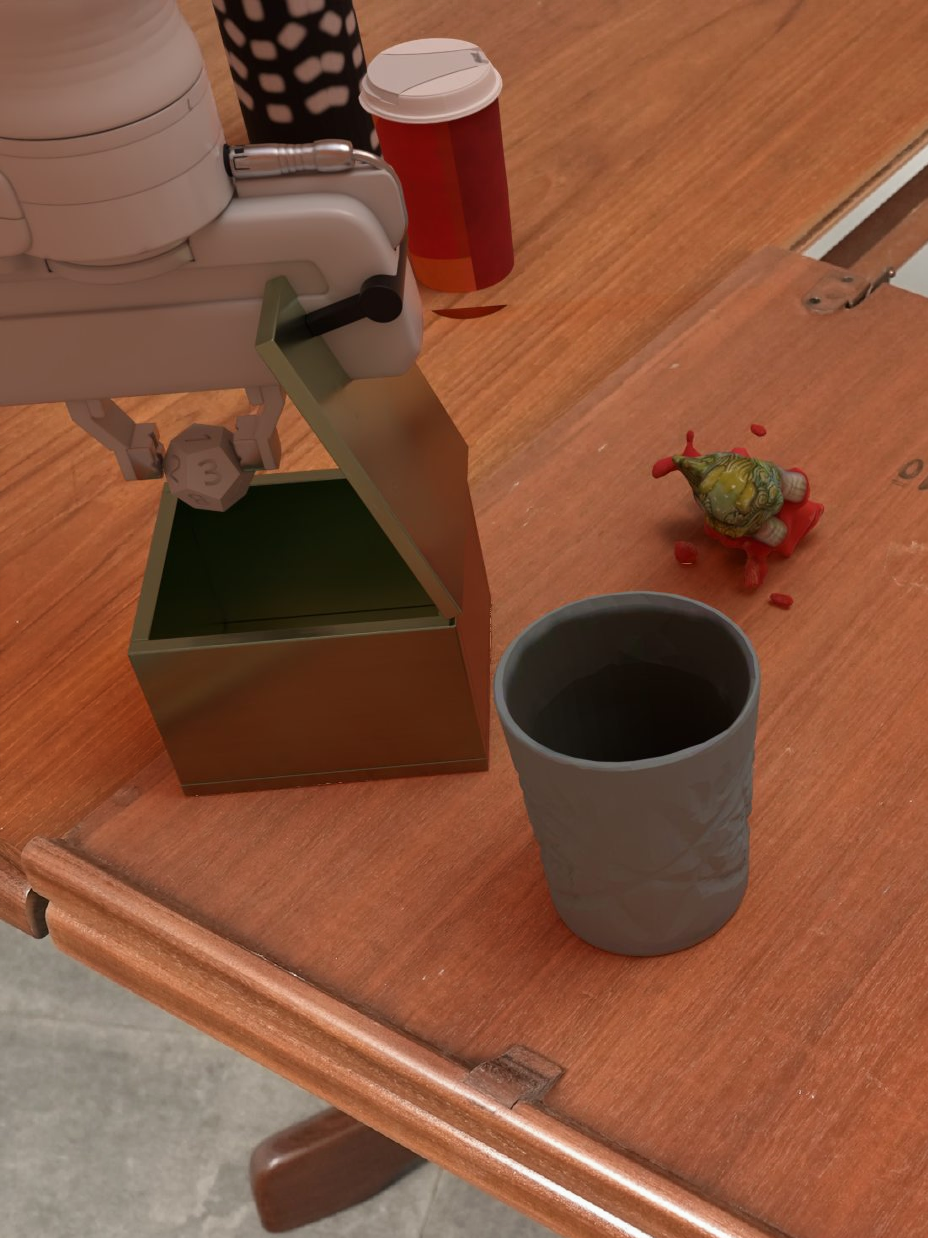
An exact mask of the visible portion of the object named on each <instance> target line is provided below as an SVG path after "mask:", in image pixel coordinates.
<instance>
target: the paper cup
mask: <svg viewBox="0 0 928 1238" xmlns="http://www.w3.org/2000/svg"><path fill="white" fill-rule="evenodd" d="M362 86H363V88H362V91H361V93H360V95H359V101H360V104H361V105H362V107H363V108H364V109H365V110H366V111H367V112H368V113H371V114H372V118H373V122H374V125H375V129H376V133H377V136H378V140H379V144H380V147H381V151H382V155H383V158H384V161H385V162H386V163H388V164H389V165H390V166H391V167H392V168H393V169H394V171H395V173H396V174H397V176H398V178H399V180H400V183H401V185H402V190H403V195H404V200H405V205H406V210H407V214H408V228H407V232H408V253H409V256H410V260H411V263H412V266H413V267H412V268H413V270H414V271H413V272H414V274H415V278H416V279H417V281H419V283H421V284H422V285H424V286H425V287H427V288H428V289H431V290H433V291H437V292H442V293H447V294H448V293H450V294H465V293H473V292H477V291H481V290H485V289H487V288H491V287H493V286H495V285H497V284H498V283H500V282H502V281H503V280H505V279H506V278H507V277H508V276H509V275H510V274H511V273H512V271H513V269H514V266H515V255H514V243H513V233H512V222H511V209H510V208H511V207H510V196H509V195H510V194H509V184H508V178H507V176H508V175H507V169H506V161H505V154H504V153H505V149H504V142H503V141H504V140H503V129H502V121H501V120H502V119H501V110H500V101H499V96H500V94H501V92H502V89H503V79H502V76H501V74H500V73H499V72H498V70H497V68H495V67H494V66H493V63H492V62H491V61H490V60H489V59H488V57H487V55H486V53H485V52H483V50H482V48H481V47H480V46H478V45H477V44H474V43H472V42H469V41H466V40H463V39H456V38H448V37H431V38H430V37H429V38H419V39H414V40H409V41H405V42H402V43H398V44H395V45H393V46H390V47H388V48H386V49H384V50H382V51H381V52H379V53H378V54H377V55H376V56H375V57H373V59H372V60H371V61H370V62H369V63H368V66H367V74H366V75H365V77H364V78H363V80H362ZM507 306H508V304H498V305H497V304H496V305H484V306H472V307H471V306H470V307H457V308H444V309H443V308H442V309H432V310H430V311H431V312H433V313H434V314H436V315H438V316H440V317H443V318H448V319H454V320H470V319H478V318H483V317H487V316H489V315H492V314H495V313H497V312H500V311H501V310H502V309H504V308H506V307H507Z"/></svg>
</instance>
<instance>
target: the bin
mask: <svg viewBox="0 0 928 1238" xmlns="http://www.w3.org/2000/svg"><path fill="white" fill-rule="evenodd" d="M468 480H469V479H467V506H466V532H465V559H464V586H463V612H462V615H459V616H456V617H453V618H451V619H448V620H446V619H445V618H444V616H443V615H442V614H441V612H440V611H439V609H438V608H437V606H436V605H435V604H434V602H433V601H432V599H431V598H430V596H429V595H428V594H427V592H426V591H425V589H424V588H423V587H422V585H421V584H420V582H419V581H418V579H417V578H416V577H415V575H414V574H413V572H412V571H411V569H410V568H409V567H408V565H407V564H406V562H405V561H404V560H403V558H402V557H401V555H400V554H399V552H398V551H397V550H396V548H395V547H394V545H393V544H392V542H391V541H390V540H389V538H388V537H387V535H386V534H385V533H384V531H383V530H382V528H381V527H380V525H379V524H378V523H377V521H376V520H375V518H374V517H373V515H372V514H371V513H370V511H369V510H368V508H367V507H366V506H365V504H364V503H363V501H362V500H361V498H360V497H359V496H358V494H357V493H356V491H355V490H354V489H353V487H352V486H351V484H350V483H349V481H348V480H347V479H346V477H345V476H344V474H343V473H342V471H341V470H340V469H339V467H337V468H324V469H323V468H322V469H312V470H310V469H309V470H300V471H286V472H285V471H284V472H274V473H261V474H254V477H253V479H252V481H251V483H250V486H249V488H248V490H247V493H246V494H245V495H244V496H243V497H242V498H240V499H239V500H238V501H237V502H236V503H234V504H233V505H232V506H231V507H229V508H228V509H227V510H226V511H224V512H221V511H214V510H206V509H198V508H194V507H192V506H190V505H189V504H187V503H186V502H184V501H182V500H181V499H179V498H178V497H176V496H175V495H173V494H171V491H170V488H169V485H168V482H167V481H164V482H163V486H162V491H161V495H160V500H159V504H158V509H157V514H156V520H155V523H154V528H153V532H152V538H151V542H150V547H149V551H148V555H147V560H146V564H145V568H144V569H145V570H144V573H143V579H142V584H141V588H140V592H139V598H138V602H137V606H136V611H135V615H134V620H133V625H132V630H131V632H130V633H131V634H130V637H129V638H130V639H129V643H128V648H127V653H126V655H127V658H128V659H129V662H130V664H131V667H132V669H133V673H134V674H135V676H136V679H137V682H138V683H139V687H140V688H141V689H140V690H141V691H142V693H143V696H144V699H145V701H146V703H147V707H148V708H149V711H150V713H151V715H152V718H153V720H154V723H155V725H156V728H157V730H158V733H159V735H160V737H161V739H162V742H163V744H164V747H165V749H166V751H167V752H166V753H167V754H168V757H169V759H170V762H171V764H172V766H173V769H174V772H175V774H176V777H177V779H178V782H179V783H180V787H181V790H182V792H183V794H184V797H185V796H193V797H203V795H204V796H214V794H215V795H225V793H227V794H236V793H247V792H248V791H249V792H258V791H257V790H260V791H270V790H269V789H271V790H281V788H283V789H290V788H289V787H294V788H298V787H297V786H301V787H300V788H305V787H313V786H314V785H316V786H319V785H318V784H321V785H320V786H323V785H322V784H326V783H331V784H330V785H336V784H335V783H337V785H338V784H340V783H339V782H342V783H341V784H347V783H359V782H371V781H370V780H372V781H380V779H383V780H392V779H405V778H416V777H427V776H438V775H449V774H461V773H472V772H481V771H483V772H484V771H489V767H490V765H489V764H490V726H491V725H490V723H491V721H490V720H491V681H490V627H491V626H490V625H491V624H490V618H491V615H490V614H491V613H490V612H491V611H490V610H491V609H490V608H491V599H492V593H491V589H490V584H489V580H488V579H489V578H488V575H487V569H486V564H485V560H484V555H483V550H482V545H481V539H480V536H479V530H478V525H477V520H476V516H475V515H476V514H475V510H474V505H473V500H472V495H471V491H470V485H469V481H468ZM366 780H368V781H366ZM314 787H315V786H314ZM277 788H278V789H277ZM231 792H233V793H231ZM196 795H198V796H196Z"/></svg>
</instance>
